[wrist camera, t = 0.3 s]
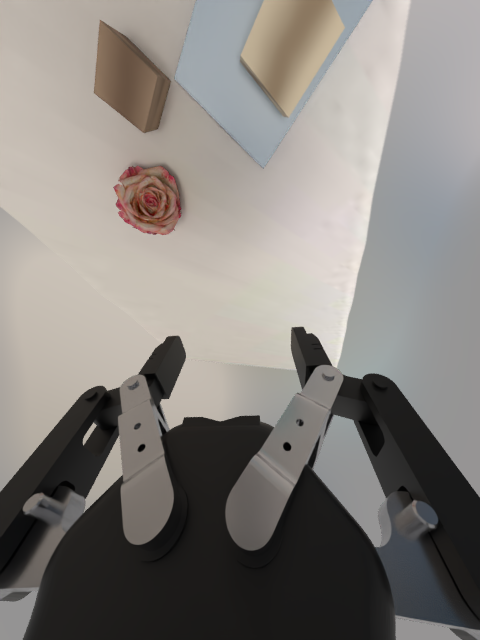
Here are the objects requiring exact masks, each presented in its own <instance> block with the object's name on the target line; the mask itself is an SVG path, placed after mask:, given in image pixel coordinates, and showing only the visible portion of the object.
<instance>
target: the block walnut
mask: <svg viewBox="0 0 480 640" xmlns="http://www.w3.org/2000/svg"><path fill="white" fill-rule="evenodd" d="M170 82H171V81H170V80H169V79H168V78H167V77H166V76H165V75H164V74H163V73H162V72H161V71H160V70H159V69H158V68H157V67H156V66H155V65H154V64H153V63H152V62H151V61H150V60H149V59H148V58H147V57H146V56H145V55H144V54H143V53H142V52H141V51H140V50H139V49H138V48H137V47H136V46H135V45H134V44H133V43H132V42H131V41H130V40H129V39H128V38H127V37H126V36H124V35H123V34H121V33H120V32H118V31H117V30H115V29H114V28H112V27H110V26H109V25H107V24H106V23H104V22H103V21H101V20H100V25H99V38H98V50H97V62H96V74H95V86H94V93H95V94H96V95H97V96H98V97H100V98H101V99H102V100H103V101H105V102H106V103H107V104H108V105H110V106H111V107H112V108H113V109H115V110H116V111H117V112H118V113H120V114H121V115H122V116H123V117H125V118H126V119H127V120H128V121H130V122H131V123H132V124H133V125H135V126H136V127H137V128H138V129H139V130H141V131H142V132H143V133H146V132H149V131H153V130H156V129H158V126H159V123H160V119H161V115H162V112H163V108H164V104H165V101H166V97H167V93H168V90H169V86H170Z"/></svg>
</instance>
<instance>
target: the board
mask: <svg viewBox="0 0 480 640" xmlns="http://www.w3.org/2000/svg"><path fill="white" fill-rule="evenodd" d="M263 1H264V0H196V2H195V6H194V9H193V13H192V17H191V20H190V24H189V27H188V31H187V35H186V38H185V42H184V45H183V49H182V52H181V56H180V60H179V63H178V67H177V70H176V74H175V77H174V79H175V80H176V81H177V82H178V83H179V84H180V85H181V86H182V87H183V88H184V89H185V90H186V91H187V92H188V93H189V94H190V95H191V96H192V97H193V98H194V99H195V100H196V101H197V102H198V103H199V104H200V105H201V106H202V107H203V108H204V109H205V110H206V111H207V112H208V113H209V114H210V115H211V116H212V117H213V118H214V119H215V120H216V121H217V122H218V123H219V124H220V125H221V126H222V127H223V128H224V129H225V130H226V132H227V133H228V134H229V135H230V136H231V137H232V138H233V139H234V140H235V141H236V142H237V143H238V144H239V145H240V146H241V147H242V148H243V149H244V150H245V151H246V152H247V153H248V154H249V155H250V156H251V157H252V158H253V159H254V160H255V161H256V162H257V163H258V164H259V165H260V166H261V167H262V168H263V169H264V167H265V166H266V164H267V163H268V161H269V159H270V158H271V156H272V155H273V153H274V152H275V150H276V149H277V147H278V146H279V144H280V142H281V141H282V139H283V138H284V136H285V135H286V133H287V132H288V130H289V129H290V127H291V125H292V124H293V122H294V121H295V119H296V118H297V116H298V115H299V113H300V112H301V110H302V108H303V107H304V105H305V104H306V102H307V101H308V99H309V98H310V96H311V95H312V93H313V92H314V90H315V88H316V87H317V85H318V84H319V82H320V81H321V79H322V78H323V76H324V75H325V73H326V71H327V70H328V68H329V67H330V65H331V64H332V62H333V61H334V59H335V58H336V56H337V54H338V53H339V51H340V50H341V48H342V47H343V45H344V44H345V42H346V41H347V39H348V37H349V36H350V34H351V33H352V31H353V30H354V28H355V27H356V25H357V24H358V22H359V20H360V19H361V17H362V16H363V14H364V13H365V11H366V10H367V8H368V7H369V5H370V4H371V2H372V0H332V2H333V4H334V6H335V8H336V10H337V12H338V14H339V16H340V18H341V20H342V22H343V24H344V27H345V29H344V30H343V32H342V33H341V35H340V37H339V38H338V40H337V41H336V43H335V45H334V46H333V48H332V49H331V51H330V53H329V54H328V56H327V57H326V59H325V61H324V62H323V64H322V65H321V67H320V69H319V70H318V72H317V73H316V75H315V77H314V78H313V80H312V81H311V83H310V85H309V86H308V88H307V89H306V91H305V93H304V94H303V96H302V97H301V99H300V101H299V102H298V104H297V105H296V107H295V109H294V110H293V112H292V113H291V115H290V116H289V118H288V117H283V116H282V114H281V113H280V112H279V111H278V109H277V108H276V107H275V106H274V104H273V103H272V102H271V100H270V99H269V98H268V97H267V95H266V94H265V93H264V92H263V90H262V89H261V88H260V87H259V85H258V84H257V83H256V81H255V80H254V79H253V78H252V76H251V75H250V74H249V73H248V71H247V70H246V69H245V67H244V66H243V65H242V64H241V62H240V56H241V53H242V51H243V48H244V46H245V44H246V41H247V39H248V36H249V34H250V32H251V29H252V27H253V25H254V22H255V20H256V17H257V15H258V13H259V10H260V8H261V6H262V3H263Z"/></svg>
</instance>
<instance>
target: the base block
mask: <svg viewBox="0 0 480 640" xmlns="http://www.w3.org/2000/svg"><path fill="white" fill-rule="evenodd" d="M344 29H345V27H344V24H343V22H342V20H341V18H340V16H339V14H338V12H337V10H336V8H335V6H334V4H333V2H332V0H264V1H263V3H262V6H261V8H260V10H259V13H258V15H257V17H256V20H255V22H254V25H253V27H252V29H251V32H250V34H249V36H248V39H247V41H246V44H245V46H244V48H243V51H242V53H241V56H240V62H241V64H242V65H243V66H244V67H245V69H246V70H247V71H248V73H249V74H250V75H251V76H252V78H253V79H254V80H255V81H256V83H257V84H258V85H259V87H260V88H261V89H262V90H263V92H264V93H265V94H266V95H267V97H268V98H269V99H270V100H271V102H272V103H273V104H274V106H275V107H276V108H277V109H278V111H279V112H280V113H281V114H282V116H283V117H288V118H289V116H290V115H291V113H292V112H293V110H294V109H295V107H296V105H297V104H298V102H299V101H300V99H301V97H302V96H303V94H304V93H305V91H306V89H307V88H308V86H309V85H310V83H311V81H312V80H313V78H314V77H315V75H316V73H317V72H318V70H319V69H320V67H321V65H322V64H323V62H324V61H325V59H326V57H327V56H328V54H329V53H330V51H331V49H332V48H333V46H334V45H335V43H336V41H337V40H338V38H339V37H340V35H341V33H342V32H343V30H344Z"/></svg>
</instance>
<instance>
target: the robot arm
mask: <svg viewBox="0 0 480 640" xmlns="http://www.w3.org/2000/svg"><path fill="white" fill-rule="evenodd" d="M291 351H292V355H293V359H294V362H295V366H296V369H297V373H298V376H299V379H300V383H301V387H302V391H301V393H300V394H299V393H296V394H295V396H294V397H293V399H292V400H291V402H290V403H289V405H288V407H287V408H286V410H285V412H284V413H283V415H282V416H281V418H280V419H279V421H278V423H277V424H276V426H275V427H272V426H270V425H269V424H266V423H263V422H260V416H239V417H235V418H232V419H228V420H225V421H221V422H220V421H215V420H212V419H208V418H203V417H186V418H184V420H183V423H182V424H181V425H179V426H176V427H174V428H172V429H171V430H169V427H168V424H167V421H166V419H165V415H164V413H163V410H162V407H161V404H160V401H161V399H169V397H170V395H171V392H172V390H173V388H174V385H175V383H176V381H177V378H178V376H179V374H180V371H181V369H182V366H183V364H184V362H185V359H186V353H185V349H184V347H183V344H182V341H181V339H180V337H179V336H168V337H167V338H166V340H165V341H164V343H163V344H160V345H159V346H158V347H157V348H155V350H154V352H153V353H152V355H151V356H150V357H149V360H147V362H146V363H145V365H144V366H143V368H142V369H141V371H140V372H139V374H138V375H135V376H132V377H130V378H128V379H127V380H126V381H125V382H123V384H122V385H121V387H119V388H116V389H113V390H109V391H107V390H106V388H105V387H103V386H96V387H93V388H91V389H89V390H88V391H86V392H85V393H84V394H82V395H81V396H80V397H79V399H78V400H77V401H76V402H75V404H74V405H73V406H72V407H71V408H70V410H69V411H68V412H67V413H66V414H65V415H64V417H63V418H62V419H61V420H60V421H59V423H58V424H57V425H56V426H55V427H54V429H53V430H52V431H51V432H50V433H49V435H48V436H47V437H46V438H45V439H44V441H43V442H42V443H41V444H40V445H39V446H38V448H37V449H36V450H35V451H34V452H33V454H32V455H31V456H30V457H29V459H28V460H27V461H26V462H25V463H24V465H23V466H22V467H21V468H20V469H19V471H18V472H17V473H16V474H15V475H14V476H13V478H12V479H11V480H10V481H9V482H8V484H7V485H6V486H5V487H4V488H3V490H2V491H1V492H0V601H18V600H20V599H22V598H24V597H25V596H27V595H28V594H29V593H30V592H32V591H38V594H37V598H36V602H35V606H34V609H33V612H32V615H31V619H30V622H29V625H28V627H27V630H26V633H25V635H24V638H23V640H396V636H395V618H398V619H404V620H409V621H415V622H420V623H426V624H431V625H437V626H442V627H448V628H450V630H452V631H453V632H454V633H455V634H456V635H457V636H458V637H460V638H461V639H462V640H480V497H479V496H478V495H477V494H476V492H475V491H474V489H473V488H472V487H471V485H470V484H469V483H468V481H467V480H466V478H465V477H464V476H463V475H462V473H461V472H460V470H459V469H458V468H457V466H456V465H455V464H454V462H453V461H452V460H451V458H450V457H449V456H448V454H447V453H446V452H445V450H444V449H443V448H442V446H441V445H440V443H439V442H438V441H437V440H436V438H435V437H434V435H433V434H432V433H431V431H430V430H429V429H428V428H427V426H426V425H425V423H424V422H423V421H422V419H421V418H420V416H419V415H418V414H417V412H416V411H415V410H414V408H413V407H412V406H411V404H410V403H409V402H408V400H407V399H406V398H405V396H404V395H403V394H402V392H401V391H400V390H399V388H398V387H397V385H396V384H395V383H394V382H393V381H392V380H390V379H389V378H387V377H385V376H382V375H379V374H367V375H365V376H364V377H363V379H358V378H353V377H348V376H345V375H343V374H342V373H341V372H340V371H339V370H338V369H337V368H335V367H333V366H332V364H331V362H330V360H329V358H328V356H327V355H326V353H325V351H324V349H323V347H322V345H321V343H320V341H319V339H318V338H317V337H316V336H315V335H313V334H312V333H311V334H307V333H306V331H305V329H304V327H292V329H291ZM334 415H338V416H341V417H345V418H349V419H352V420H354V423H355V425H356V427H357V430H358V432H359V435H360V437H361V439H362V442H363V444H364V446H365V449H366V451H367V454H368V456H369V458H370V461H371V463H372V465H373V468H374V470H375V472H376V475H377V477H378V479H379V482H380V484H381V487H382V489H383V492H384V494H385V496H386V500H385V501H384V502H383V503H382V505H381V506H380V508H379V511H378V519H379V524H380V527H381V533H382V542H381V545H380V547H374V545H373V544H372V542H371V540H370V539H369V537H368V536H367V534H366V533H365V532H364V530H363V529H362V528H361V526H360V525H359V524H358V523H357V522H356V521H355V519H354V518H353V517H352V516H351V515H350V513H349V512H348V511H347V510H346V509H345V507H344V506H343V505H342V504H341V503H340V502H339V500H338V499H337V498H336V497H335V496H334V495H333V493H332V492H331V491H330V490H329V489H328V488H327V486H326V485H325V484H324V483H323V482H322V480H321V479H320V478H319V477H318V476H317V475H316V473H315V472H314V471H313V469H314V466H315V464H316V461H317V459H318V456H319V453H320V450H321V447H322V444H323V441H324V439H325V436H326V434H327V431H328V429H329V426H330V424H331V422H332V419H333V417H334ZM93 422H94V423H95V424H96V425H97V426H96V428H95V429H94V431H93V432H92V434H91V435H90V437H89V438H88V440H87V441H86V443H85V444H84V446H83V438H84V435H85V434H86V432H87V431H88V429H89V428H90V426H91V425H92V424H93ZM118 436H120V448H121V459H122V470H123V475H122V476H121V477H120V478H119V479H118V480H117V481H116V482H115V483H114V484H113V485H112V486H111V487H110V488H109V489H108V490H107V491H106V492H105V493H104V494H103V495H102V496H101V497H100V498H99V499H98V500H96V502H94V503H93V504H92V505H91V506H90V508H88V509H87V510H86V511H85V512H84V509H85V499H86V497H87V495H88V493H89V491H90V489H91V488H92V486H93V484H94V482H95V480H96V478H97V476H98V474H99V472H100V470H101V468H102V467H103V465H104V463H105V461H106V459H107V457H108V455H109V453H110V451H111V449H112V447H113V445H114V444H115V442H116V440H117V438H118ZM83 512H84V513H83Z"/></svg>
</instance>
